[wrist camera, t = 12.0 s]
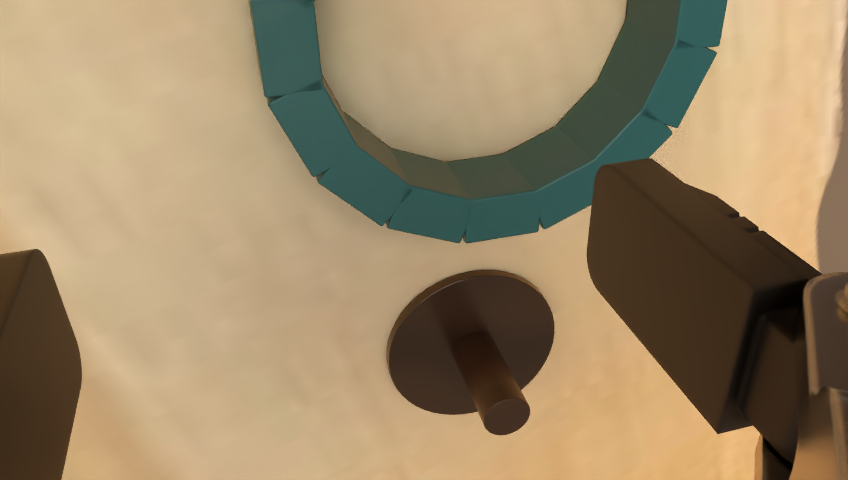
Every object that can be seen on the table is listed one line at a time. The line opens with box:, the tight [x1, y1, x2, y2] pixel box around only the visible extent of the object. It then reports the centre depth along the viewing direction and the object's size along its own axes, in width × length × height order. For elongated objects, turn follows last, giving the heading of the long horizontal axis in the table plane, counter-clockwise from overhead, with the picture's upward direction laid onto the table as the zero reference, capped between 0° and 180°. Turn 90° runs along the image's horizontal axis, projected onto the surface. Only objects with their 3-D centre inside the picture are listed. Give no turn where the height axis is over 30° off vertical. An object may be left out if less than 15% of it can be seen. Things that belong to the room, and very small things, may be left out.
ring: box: [249, 0, 727, 243], centre depth 24 cm, size 16×16×4 cm
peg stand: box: [387, 270, 554, 435], centre depth 31 cm, size 8×8×5 cm
